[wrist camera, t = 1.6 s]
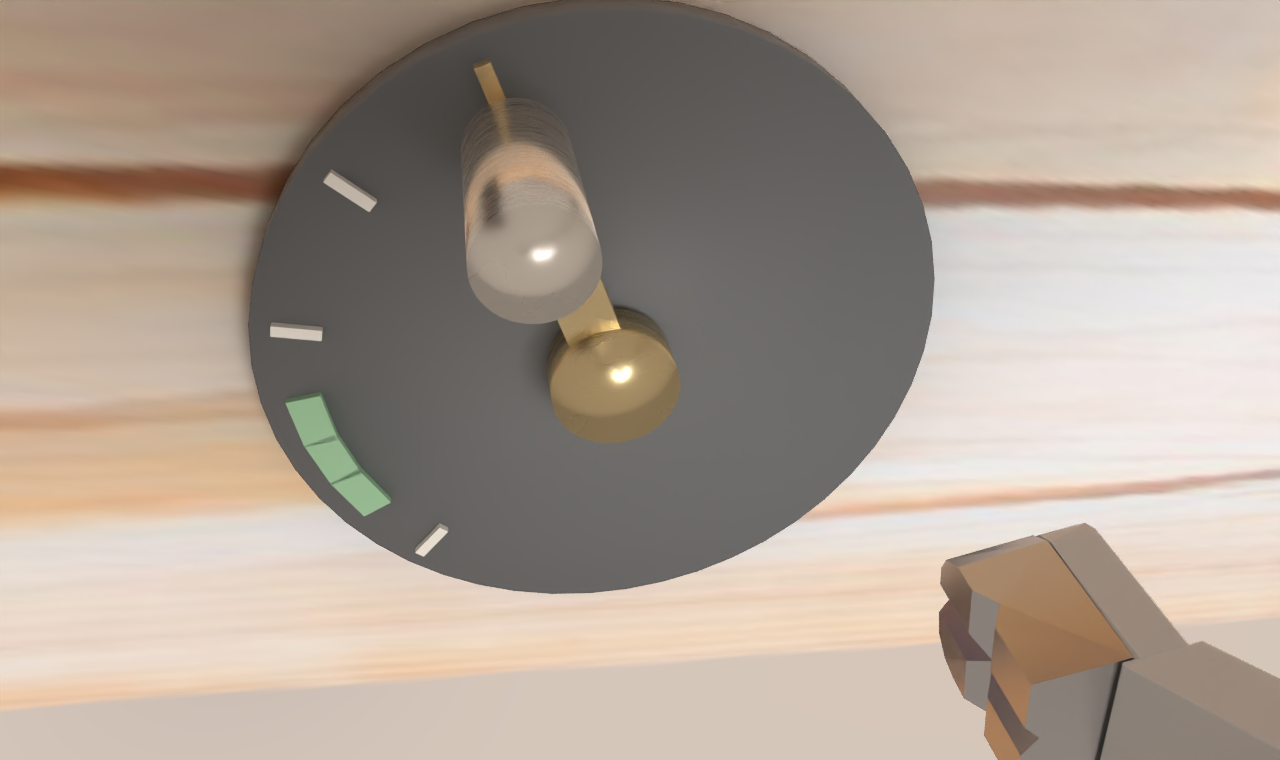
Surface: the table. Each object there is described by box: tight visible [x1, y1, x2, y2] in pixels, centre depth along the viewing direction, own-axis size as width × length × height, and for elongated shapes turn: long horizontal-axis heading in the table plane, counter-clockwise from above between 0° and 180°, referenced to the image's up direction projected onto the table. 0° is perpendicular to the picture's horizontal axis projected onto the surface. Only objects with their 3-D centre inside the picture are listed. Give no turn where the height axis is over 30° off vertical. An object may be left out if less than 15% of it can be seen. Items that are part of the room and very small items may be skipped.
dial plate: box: [249, 0, 934, 594], centre depth 37 cm, size 24×24×2 cm
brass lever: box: [461, 58, 680, 443], centre depth 30 cm, size 14×4×8 cm, turn 18°
